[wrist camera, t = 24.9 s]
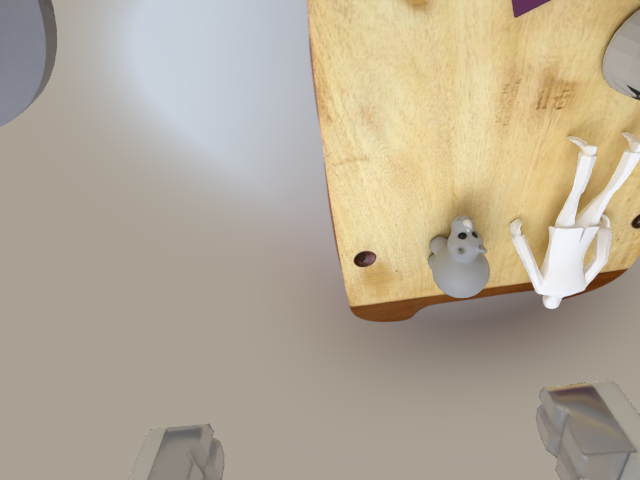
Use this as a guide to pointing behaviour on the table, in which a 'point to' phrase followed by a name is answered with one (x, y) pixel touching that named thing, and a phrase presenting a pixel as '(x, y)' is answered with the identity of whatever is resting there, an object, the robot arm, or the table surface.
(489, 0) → the table surface
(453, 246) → the toy rhinoceros
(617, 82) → the mug
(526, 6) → the cloth
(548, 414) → the robot arm
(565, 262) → the male figurine
